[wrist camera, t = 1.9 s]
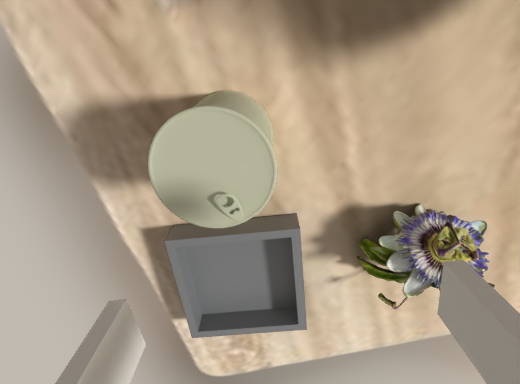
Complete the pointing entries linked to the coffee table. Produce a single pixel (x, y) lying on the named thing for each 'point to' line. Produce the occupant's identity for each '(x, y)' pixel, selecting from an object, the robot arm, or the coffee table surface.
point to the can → (215, 161)
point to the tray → (240, 276)
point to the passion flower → (424, 250)
